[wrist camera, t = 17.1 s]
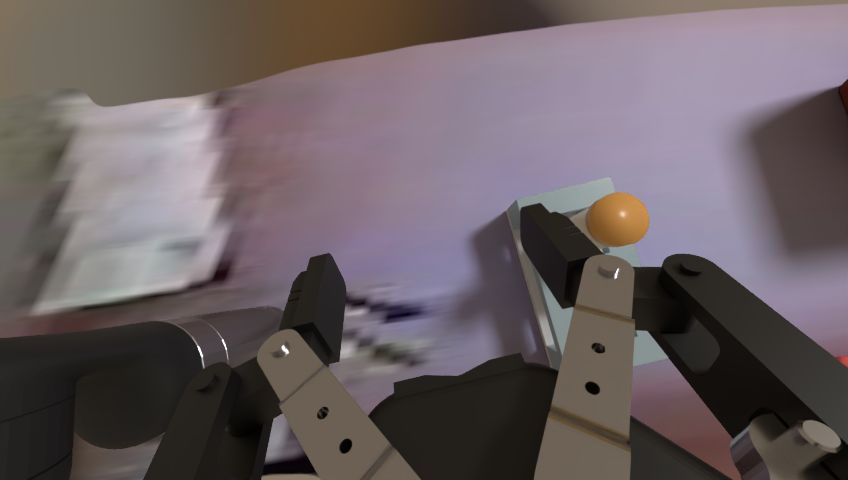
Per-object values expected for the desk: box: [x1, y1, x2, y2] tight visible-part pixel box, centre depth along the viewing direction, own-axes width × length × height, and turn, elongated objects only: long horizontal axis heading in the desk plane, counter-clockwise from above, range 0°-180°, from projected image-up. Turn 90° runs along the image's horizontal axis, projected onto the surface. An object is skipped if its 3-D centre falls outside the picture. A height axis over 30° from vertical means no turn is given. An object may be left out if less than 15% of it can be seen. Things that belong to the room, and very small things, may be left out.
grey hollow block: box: [506, 177, 668, 371], centre depth 39 cm, size 22×12×6 cm, turn 13°
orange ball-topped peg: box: [569, 192, 649, 249], centre depth 35 cm, size 5×5×14 cm
